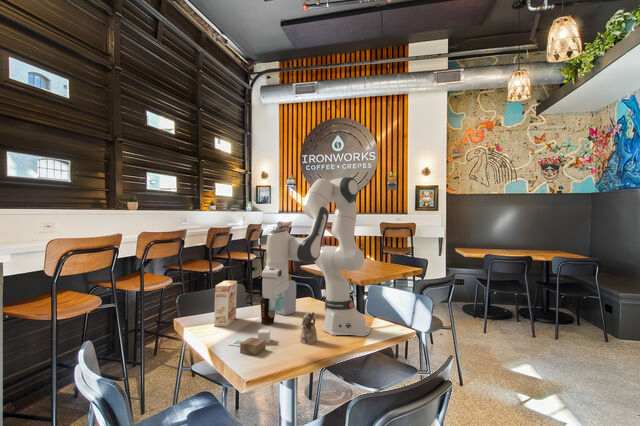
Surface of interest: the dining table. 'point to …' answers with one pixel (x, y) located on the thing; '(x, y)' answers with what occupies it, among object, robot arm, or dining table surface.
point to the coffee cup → (266, 312)
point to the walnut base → (252, 346)
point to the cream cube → (264, 334)
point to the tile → (236, 342)
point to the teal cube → (279, 304)
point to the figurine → (308, 330)
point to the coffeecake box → (225, 303)
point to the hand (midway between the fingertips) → (276, 305)
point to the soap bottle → (289, 299)
